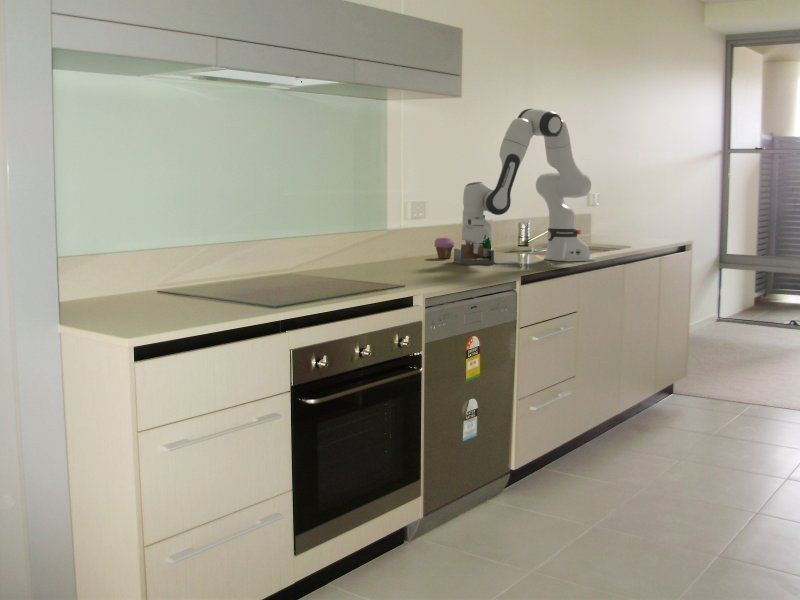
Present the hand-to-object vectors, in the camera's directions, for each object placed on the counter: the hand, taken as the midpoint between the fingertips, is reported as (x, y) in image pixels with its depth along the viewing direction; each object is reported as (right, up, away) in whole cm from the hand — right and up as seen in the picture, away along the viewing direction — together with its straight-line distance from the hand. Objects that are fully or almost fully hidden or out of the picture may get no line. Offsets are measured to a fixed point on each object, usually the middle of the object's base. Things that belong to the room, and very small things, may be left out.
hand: (471, 252), depth 379 cm
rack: (+1, -5, -2) cm, 5 cm away
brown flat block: (0, -5, +1) cm, 5 cm away
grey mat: (+14, -5, +1) cm, 15 cm away
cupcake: (-11, -2, +19) cm, 22 cm away
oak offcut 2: (+4, -5, -3) cm, 8 cm away
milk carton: (+6, -2, +18) cm, 19 cm away
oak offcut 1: (-2, -6, -4) cm, 7 cm away
